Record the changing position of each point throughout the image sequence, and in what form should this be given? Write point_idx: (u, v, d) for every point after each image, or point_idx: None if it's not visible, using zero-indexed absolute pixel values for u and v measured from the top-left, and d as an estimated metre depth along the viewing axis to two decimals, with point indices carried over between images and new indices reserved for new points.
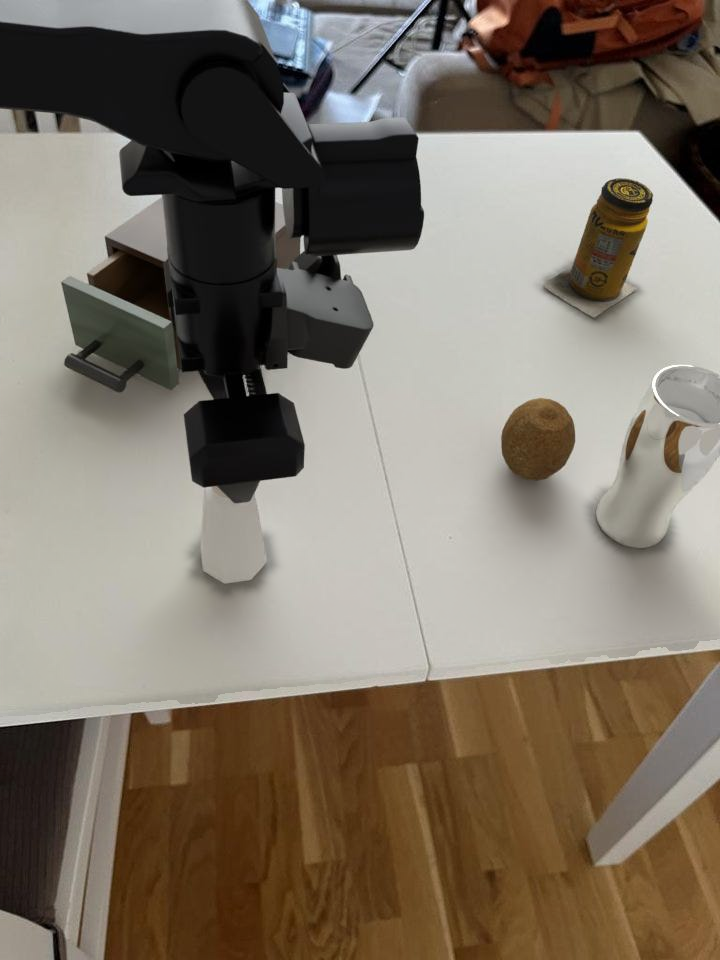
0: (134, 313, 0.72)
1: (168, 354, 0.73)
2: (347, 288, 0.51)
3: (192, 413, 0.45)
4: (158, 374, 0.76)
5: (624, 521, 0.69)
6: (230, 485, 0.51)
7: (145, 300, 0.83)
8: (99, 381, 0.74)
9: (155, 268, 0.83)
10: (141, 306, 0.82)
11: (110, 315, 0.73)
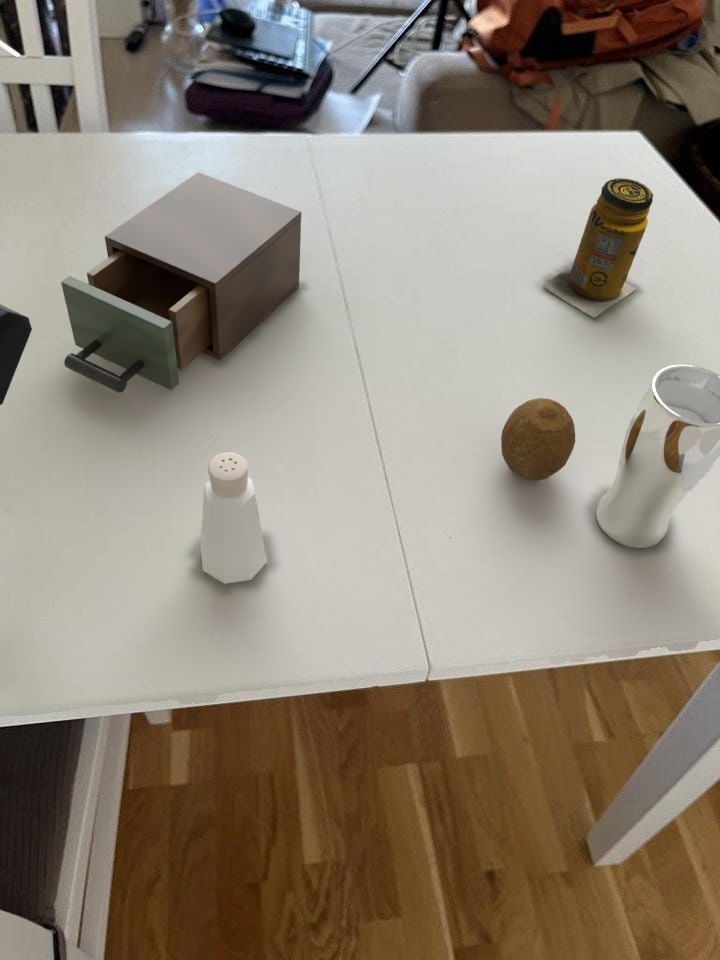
0: (134, 313, 0.72)
1: (168, 354, 0.73)
2: None
3: None
4: (158, 374, 0.76)
5: (624, 521, 0.69)
6: None
7: (145, 300, 0.83)
8: (99, 381, 0.74)
9: (155, 268, 0.83)
10: (141, 306, 0.82)
11: (110, 315, 0.73)
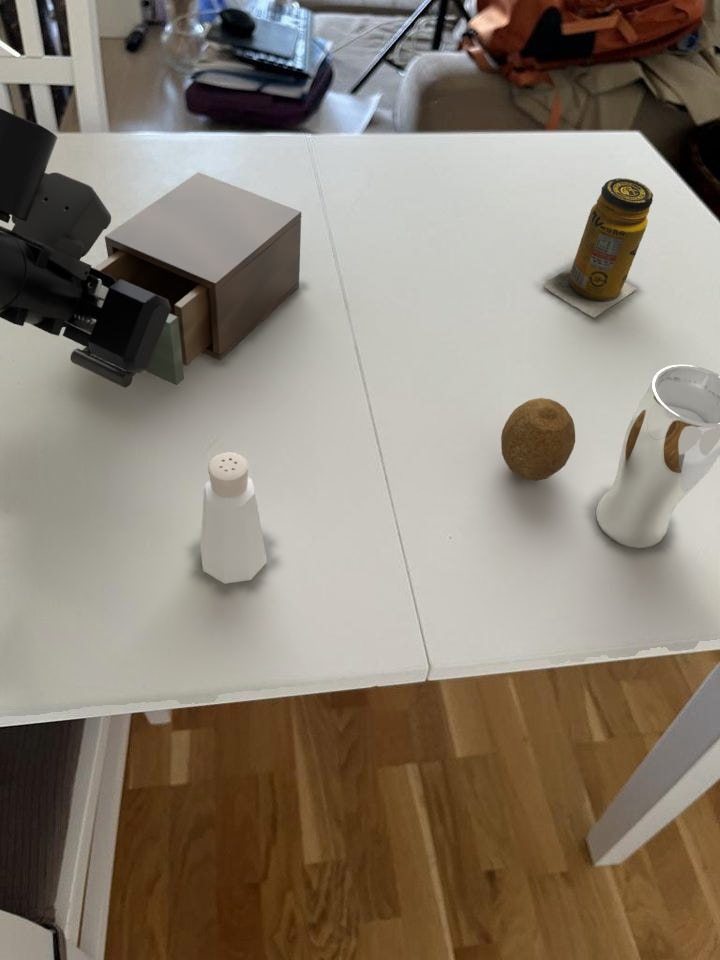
0: None
1: (173, 349, 0.74)
2: (50, 182, 0.62)
3: (94, 349, 0.63)
4: (163, 369, 0.76)
5: (624, 521, 0.69)
6: None
7: None
8: (105, 376, 0.74)
9: None
10: None
11: None
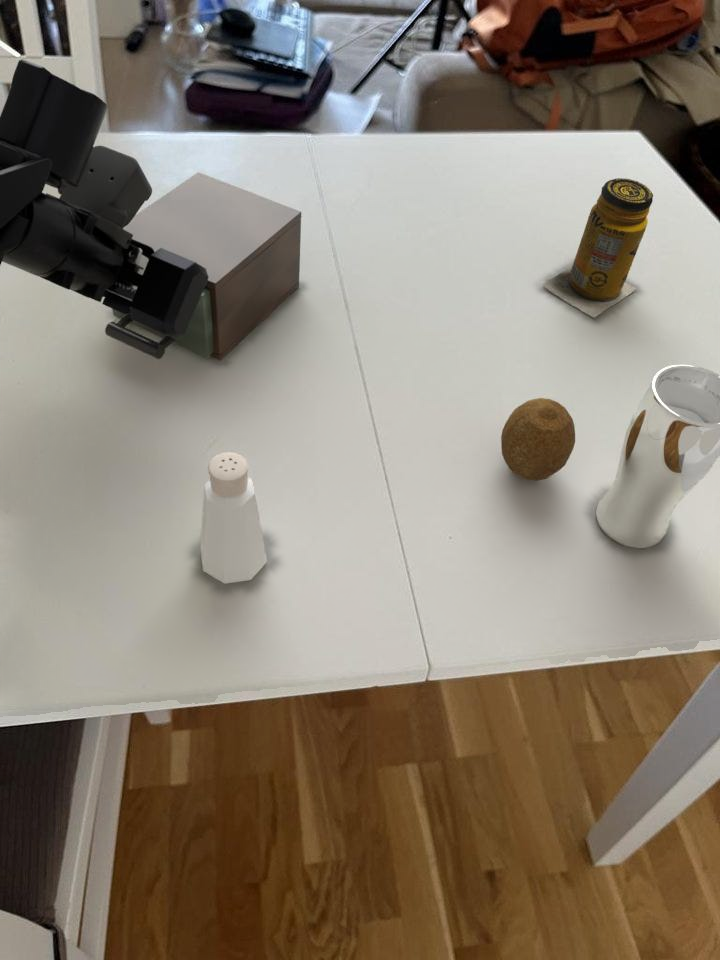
0: None
1: (205, 321, 0.77)
2: (96, 155, 0.65)
3: (135, 314, 0.66)
4: (194, 342, 0.79)
5: (624, 521, 0.69)
6: None
7: None
8: (139, 348, 0.77)
9: None
10: None
11: None
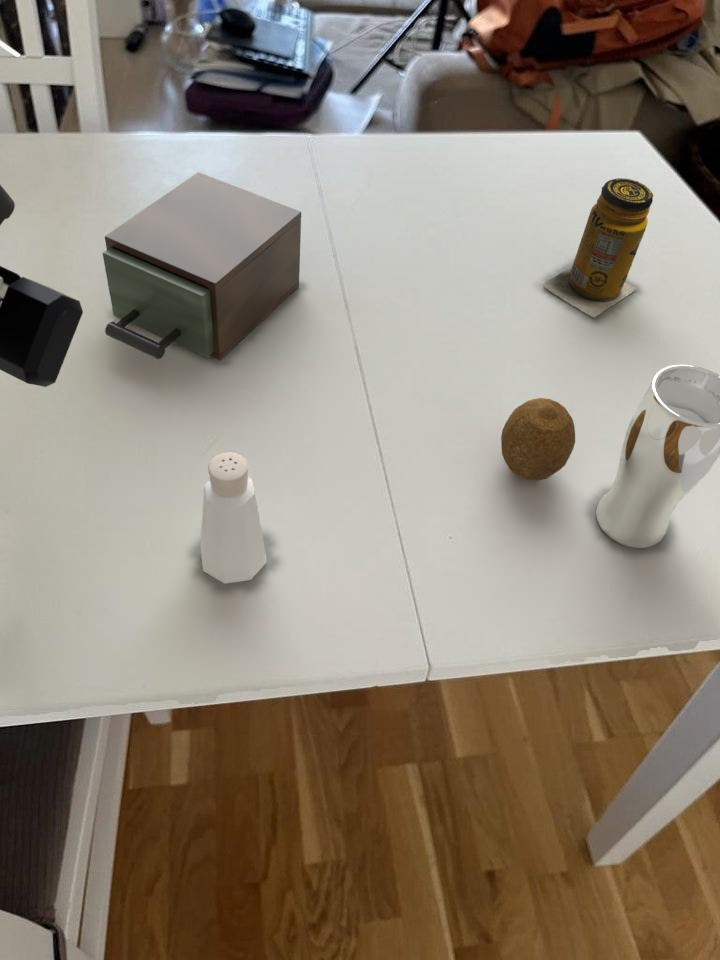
0: (173, 282, 0.75)
1: (205, 321, 0.77)
2: None
3: None
4: (194, 342, 0.79)
5: (624, 521, 0.69)
6: None
7: None
8: (139, 348, 0.77)
9: None
10: None
11: (150, 284, 0.77)
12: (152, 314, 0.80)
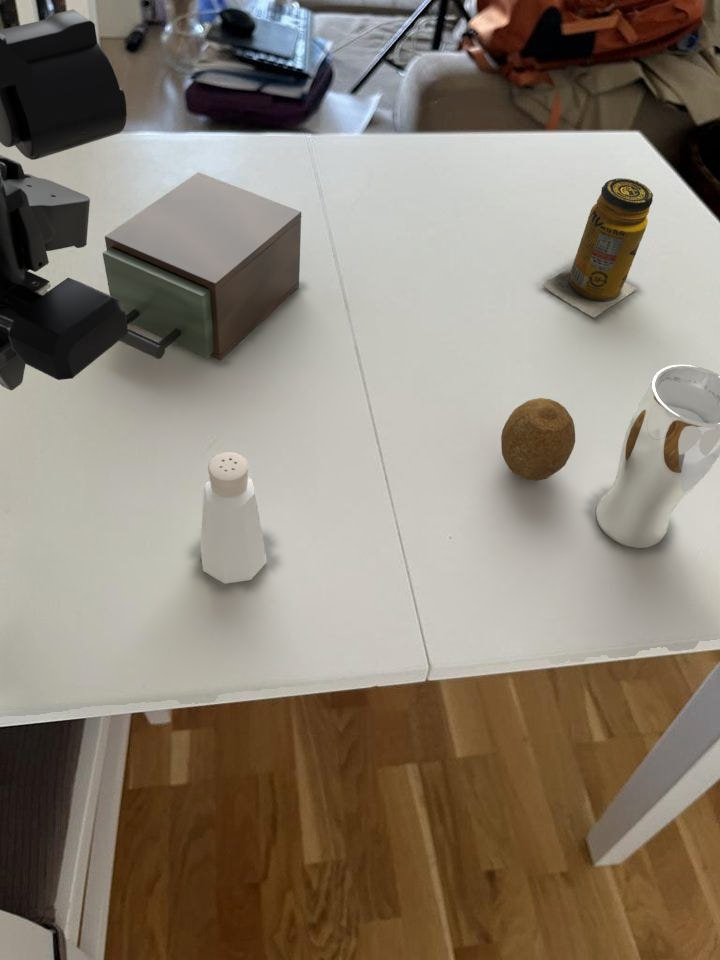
0: (173, 282, 0.75)
1: (205, 321, 0.77)
2: (39, 181, 0.55)
3: (18, 327, 0.48)
4: (194, 342, 0.79)
5: (624, 521, 0.69)
6: (8, 366, 0.55)
7: None
8: (139, 348, 0.77)
9: None
10: None
11: (150, 284, 0.77)
12: (152, 314, 0.80)
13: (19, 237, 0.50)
